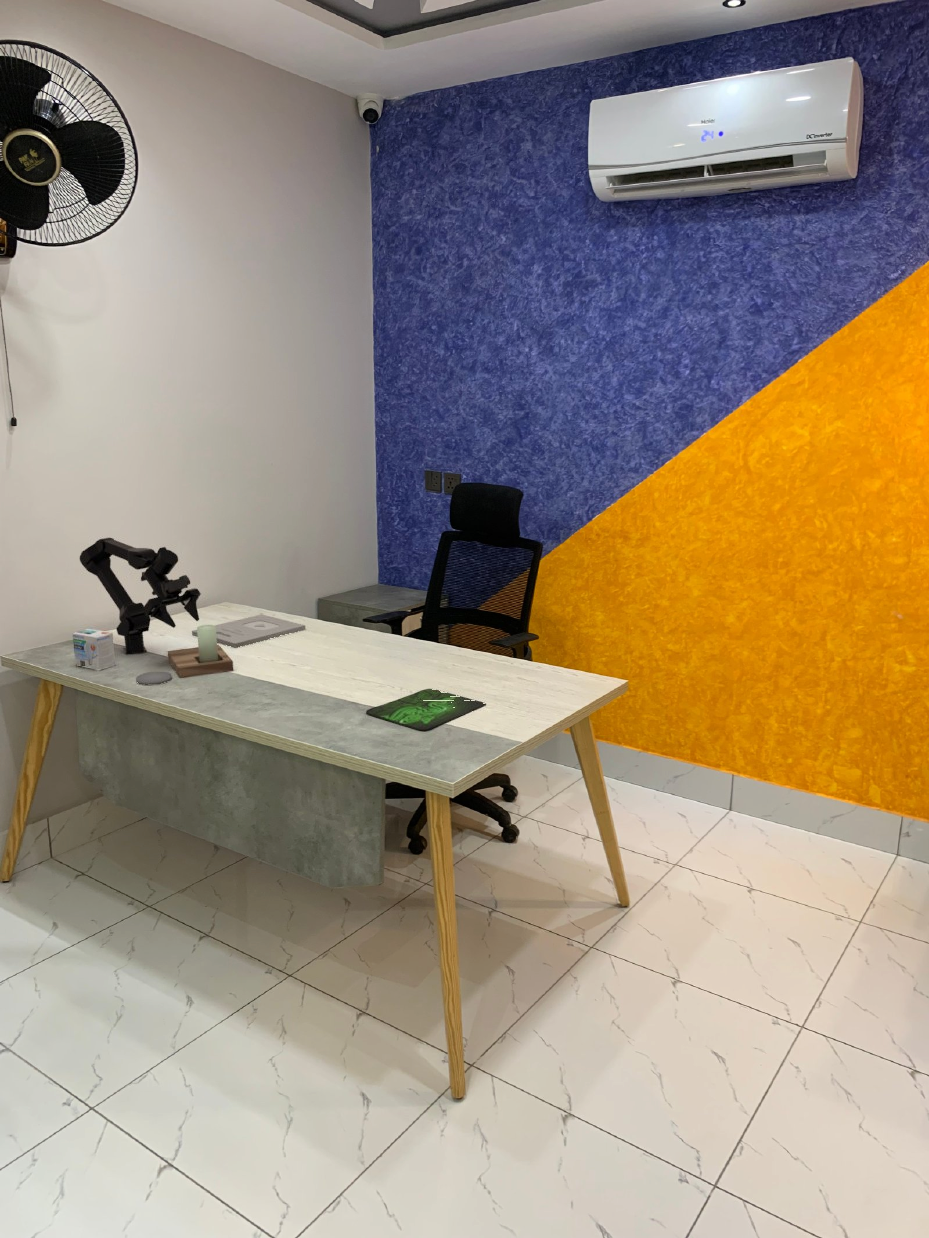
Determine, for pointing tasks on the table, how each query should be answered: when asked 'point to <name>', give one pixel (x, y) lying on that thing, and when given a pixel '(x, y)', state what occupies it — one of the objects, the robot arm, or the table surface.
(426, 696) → the mouse mat
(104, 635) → the light bulb box
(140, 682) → the coaster
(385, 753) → the table surface
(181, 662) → the puzzle board
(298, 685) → the table surface
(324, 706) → the table surface
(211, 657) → the peg
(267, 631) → the award plaque
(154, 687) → the table surface
